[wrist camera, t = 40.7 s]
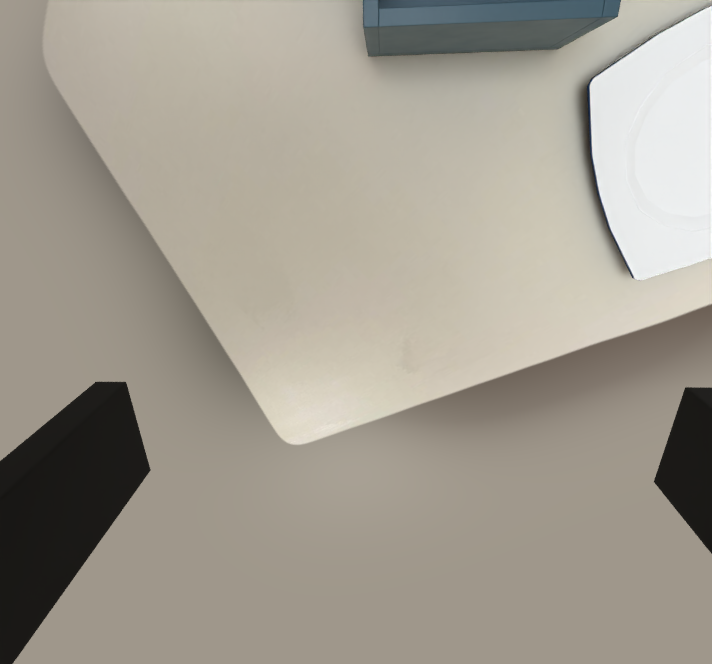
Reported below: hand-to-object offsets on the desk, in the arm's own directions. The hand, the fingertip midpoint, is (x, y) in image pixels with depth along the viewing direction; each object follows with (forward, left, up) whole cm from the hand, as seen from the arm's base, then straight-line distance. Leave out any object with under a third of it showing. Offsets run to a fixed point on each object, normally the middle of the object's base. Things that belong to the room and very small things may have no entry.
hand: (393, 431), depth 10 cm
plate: (+15, +25, -35) cm, 45 cm away
